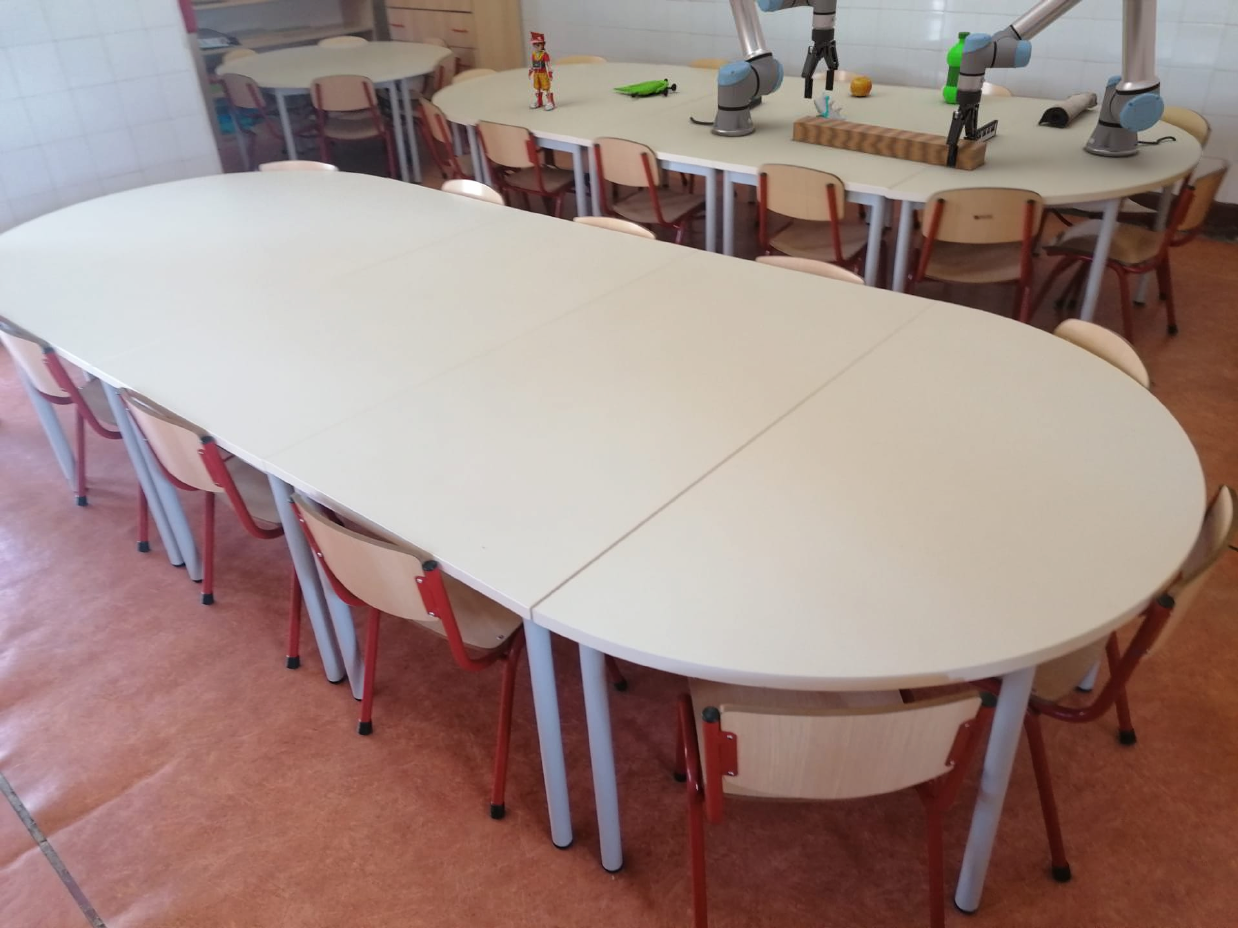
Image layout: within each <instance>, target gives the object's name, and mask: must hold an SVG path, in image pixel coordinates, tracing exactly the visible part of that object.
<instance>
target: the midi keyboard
mask: <svg viewBox="0 0 1238 928" xmlns="http://www.w3.org/2000/svg"><path fill="white" fill-rule="evenodd" d="M998 123H999V120H998V119H994V120H992V121H989V122H987V123H986V124H984V125H983V126H981V127H979V128H977V133H976V137H972V138H973V139H972V140H973V141H979V142H985V141H987V140H988V139H989V138H991V137H993V136H996V134H997V129H998Z"/></svg>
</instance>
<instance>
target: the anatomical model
mask: <svg viewBox="0 0 1238 928" xmlns="http://www.w3.org/2000/svg"><path fill="white" fill-rule="evenodd" d="M829 100H831V98H830V95H828V94H827V93H826V92H822V94H821V95H820V97H817V98H814V99H813V105H814V106H815V109H816V111H817V113H818V114H819V115H822V116H823V118H827V119H833V120H840V121H846V120H847V117H846V116H842V115H840V113H841V111H842V110H843V107H842V106H839V107H837V108H833V107H832V106H833V105H834V104H835V100H831V101H829Z"/></svg>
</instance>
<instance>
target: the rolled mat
mask: <svg viewBox="0 0 1238 928" xmlns="http://www.w3.org/2000/svg"><path fill="white" fill-rule="evenodd" d="M1096 106H1098V94H1096V93H1095V92H1089V91H1085V92H1079V93H1072V94H1070V95H1068V96H1067V98H1066V99H1064V100H1062V101H1059V102H1058V103H1055V104H1054V105H1052V106H1051V107H1048V108H1047V109H1046V110H1044V112H1043V114H1042V115H1041V117H1040V118H1039V121H1038V123H1037V125H1038V126H1039V125H1042V124H1050V125H1051V126H1052V127H1057V128H1064V127H1066V126H1067V125H1068V124H1069V123H1071V121H1072V120H1073V119H1074V118H1075V117H1076V116H1077V115H1079V114H1080V113H1082V112H1083V111H1084V110H1088V109H1093V108H1095V107H1096Z"/></svg>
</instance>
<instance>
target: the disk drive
mask: <svg viewBox="0 0 1238 928" xmlns="http://www.w3.org/2000/svg"><path fill="white" fill-rule="evenodd" d="M762 102H763V96H759V97H755V98H750V99H749V110H750V109H752V108H753V107H756V106H757V105H759V104H761V103H762Z"/></svg>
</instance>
